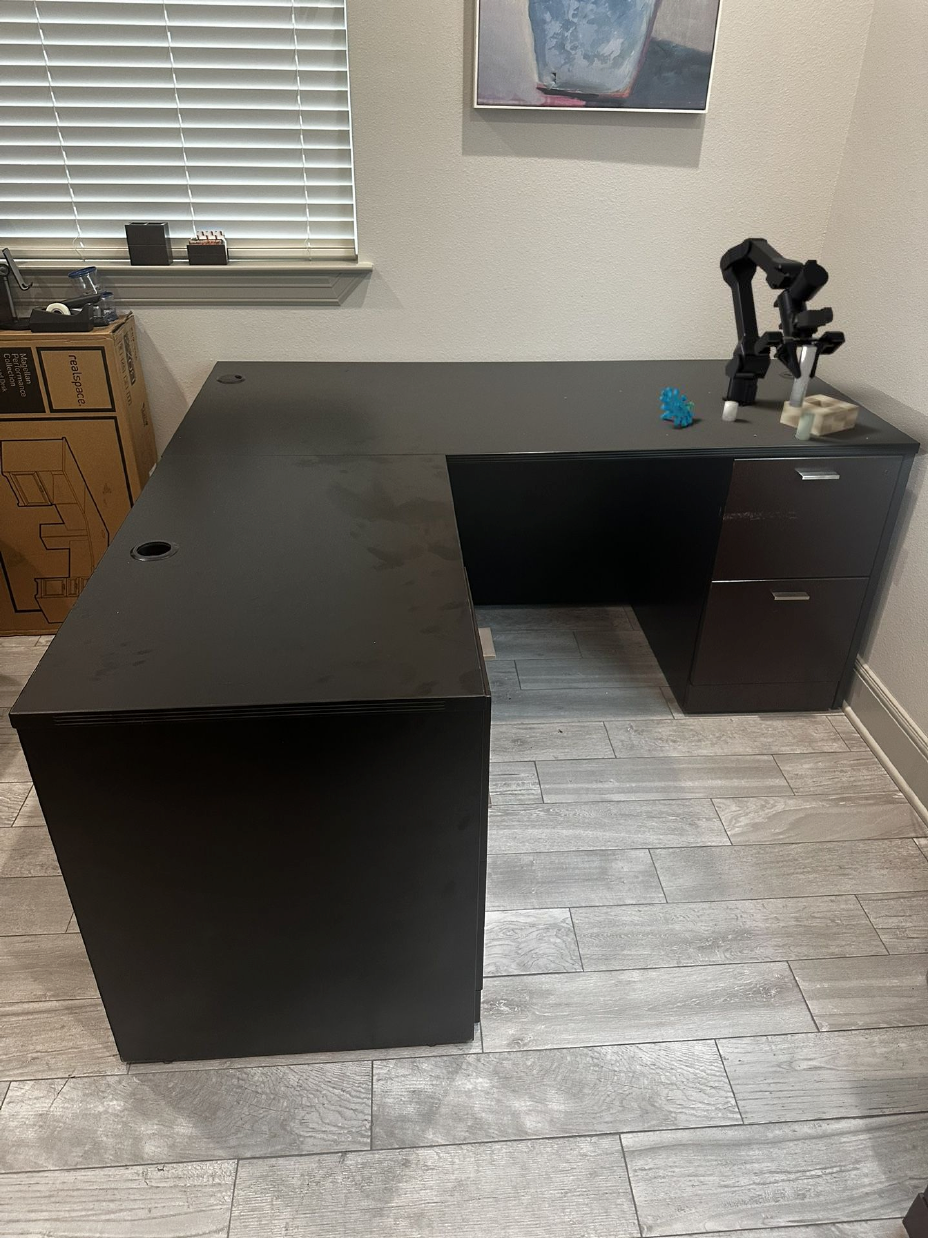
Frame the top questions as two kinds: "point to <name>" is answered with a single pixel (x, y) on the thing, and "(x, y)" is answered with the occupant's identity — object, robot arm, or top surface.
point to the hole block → (822, 414)
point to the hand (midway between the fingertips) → (805, 377)
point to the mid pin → (805, 426)
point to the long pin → (802, 376)
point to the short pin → (730, 411)
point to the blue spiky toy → (676, 407)
